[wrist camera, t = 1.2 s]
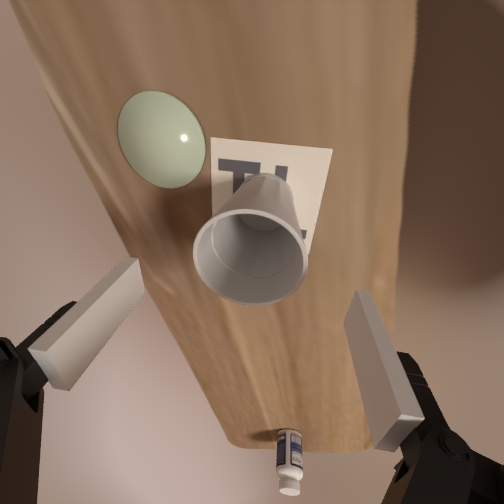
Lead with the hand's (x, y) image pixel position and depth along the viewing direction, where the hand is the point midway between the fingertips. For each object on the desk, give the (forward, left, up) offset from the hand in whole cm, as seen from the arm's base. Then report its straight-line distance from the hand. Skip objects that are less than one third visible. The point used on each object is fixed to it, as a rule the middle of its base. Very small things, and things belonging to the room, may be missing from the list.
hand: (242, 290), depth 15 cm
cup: (0, 0, -15) cm, 15 cm away
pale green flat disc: (-5, -11, -15) cm, 19 cm away
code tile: (0, 0, -15) cm, 15 cm away
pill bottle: (+54, +11, -15) cm, 57 cm away
